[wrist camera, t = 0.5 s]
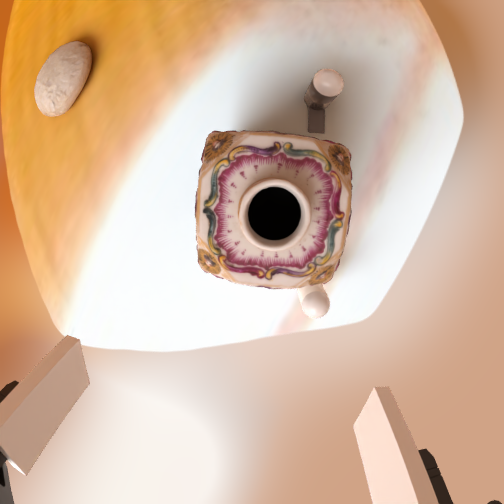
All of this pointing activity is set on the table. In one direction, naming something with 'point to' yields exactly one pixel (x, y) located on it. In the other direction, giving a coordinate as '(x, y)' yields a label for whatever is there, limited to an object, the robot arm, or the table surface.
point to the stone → (62, 78)
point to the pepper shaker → (323, 89)
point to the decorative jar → (272, 208)
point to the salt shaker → (314, 300)
